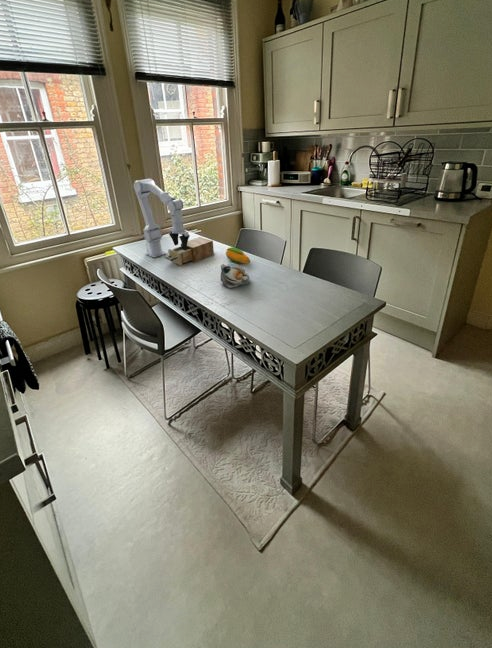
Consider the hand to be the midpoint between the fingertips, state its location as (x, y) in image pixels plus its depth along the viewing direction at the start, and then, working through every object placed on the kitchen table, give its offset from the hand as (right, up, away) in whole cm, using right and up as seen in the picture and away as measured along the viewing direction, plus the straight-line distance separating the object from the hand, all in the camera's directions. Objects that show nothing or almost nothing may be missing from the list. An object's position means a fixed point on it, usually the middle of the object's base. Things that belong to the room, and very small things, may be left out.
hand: (180, 246), depth 174 cm
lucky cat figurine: (+31, -20, -25) cm, 45 cm away
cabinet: (+8, -5, +11) cm, 15 cm away
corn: (+32, -9, 0) cm, 33 cm away
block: (0, -7, +3) cm, 7 cm away
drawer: (0, -8, +3) cm, 9 cm away
